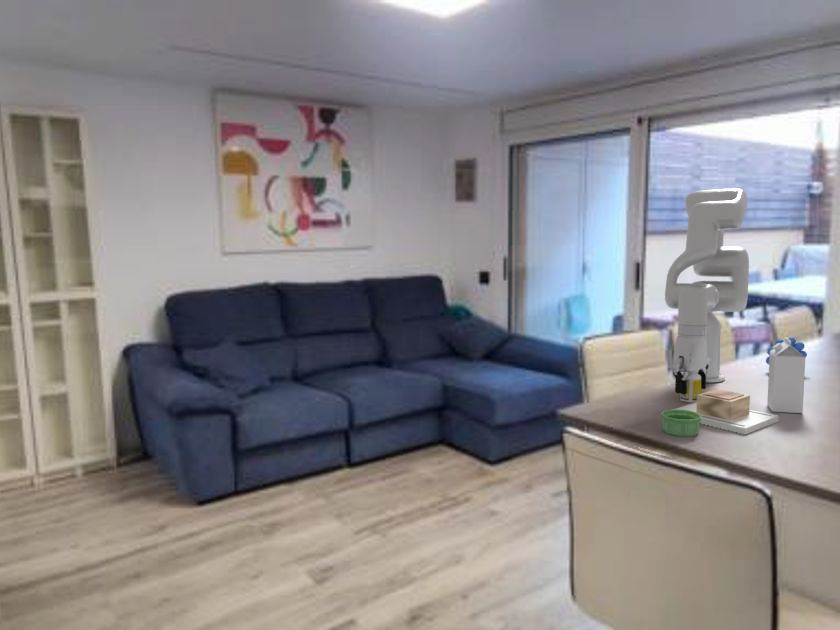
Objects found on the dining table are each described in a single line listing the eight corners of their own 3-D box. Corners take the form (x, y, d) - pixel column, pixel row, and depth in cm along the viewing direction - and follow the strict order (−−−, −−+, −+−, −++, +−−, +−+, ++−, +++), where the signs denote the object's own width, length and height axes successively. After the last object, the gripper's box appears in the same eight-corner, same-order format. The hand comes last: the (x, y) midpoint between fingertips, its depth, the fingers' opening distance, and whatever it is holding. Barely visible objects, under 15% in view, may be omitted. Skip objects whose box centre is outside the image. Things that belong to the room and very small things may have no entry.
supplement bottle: (700, 399, 183) (701, 365, 181) (700, 403, 178) (701, 369, 177) (680, 397, 185) (681, 364, 184) (679, 402, 180) (680, 368, 179)
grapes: (805, 372, 212) (807, 336, 210) (806, 376, 206) (807, 339, 204) (765, 369, 218) (767, 334, 216) (765, 373, 212) (766, 337, 210)
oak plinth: (696, 412, 164) (696, 393, 164) (715, 406, 170) (715, 388, 169) (730, 420, 157) (731, 400, 156) (749, 413, 162) (750, 394, 162)
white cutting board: (669, 416, 167) (669, 410, 167) (703, 405, 176) (703, 399, 176) (745, 434, 151) (745, 428, 151) (778, 421, 160) (778, 415, 160)
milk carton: (796, 406, 172) (800, 337, 170) (802, 414, 166) (806, 341, 163) (767, 405, 175) (770, 336, 172) (772, 412, 168) (775, 341, 166)
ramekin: (697, 440, 148) (698, 421, 148) (657, 434, 153) (657, 416, 153) (703, 429, 156) (704, 412, 155) (665, 424, 161) (665, 407, 160)
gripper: (697, 326, 187) (695, 383, 189) (661, 332, 177) (660, 393, 179) (721, 328, 181) (719, 388, 183) (686, 335, 171) (685, 398, 173)
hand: (690, 390), depth 181 cm, fingers open, 9 cm apart
